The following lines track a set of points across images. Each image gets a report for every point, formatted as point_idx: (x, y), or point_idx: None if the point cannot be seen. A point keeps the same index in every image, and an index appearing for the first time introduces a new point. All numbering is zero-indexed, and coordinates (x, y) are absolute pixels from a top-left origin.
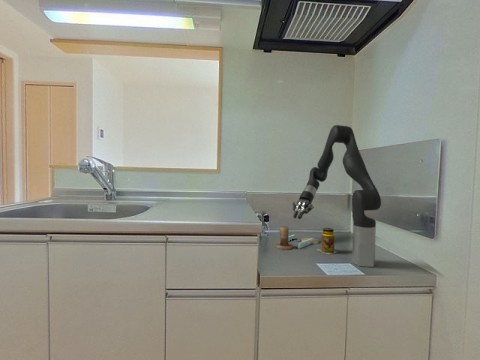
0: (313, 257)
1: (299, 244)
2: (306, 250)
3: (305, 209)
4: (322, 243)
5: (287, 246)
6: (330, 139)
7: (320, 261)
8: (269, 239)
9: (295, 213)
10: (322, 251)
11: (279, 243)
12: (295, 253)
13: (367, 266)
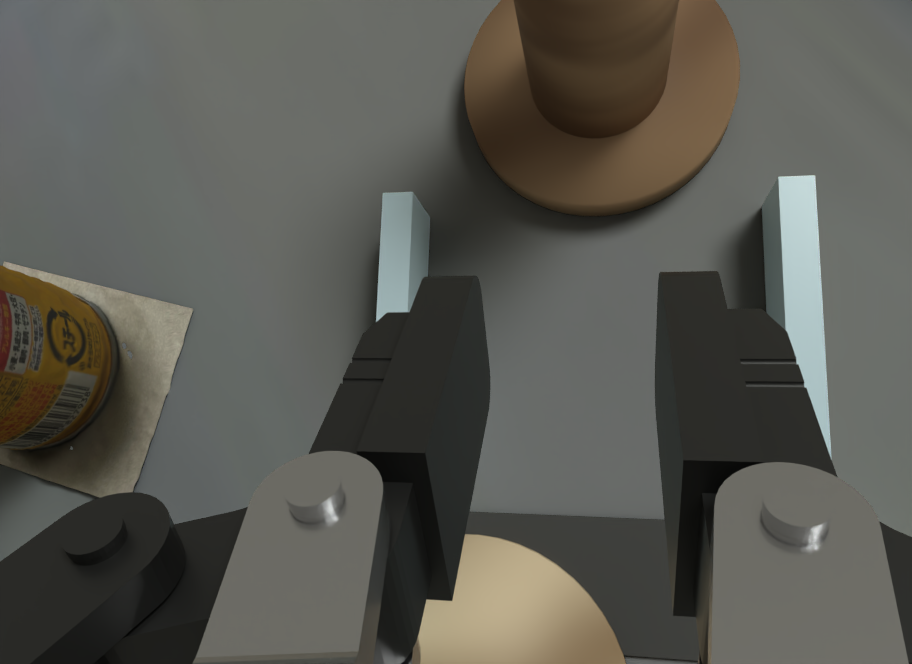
0: (107, 53)
1: (387, 198)
2: (283, 211)
3: (47, 602)
4: (9, 272)
5: (520, 63)
6: None
7: (6, 6)
8: None
9: (673, 363)
10: (94, 307)
11: (718, 92)
12: (333, 9)
13: None
